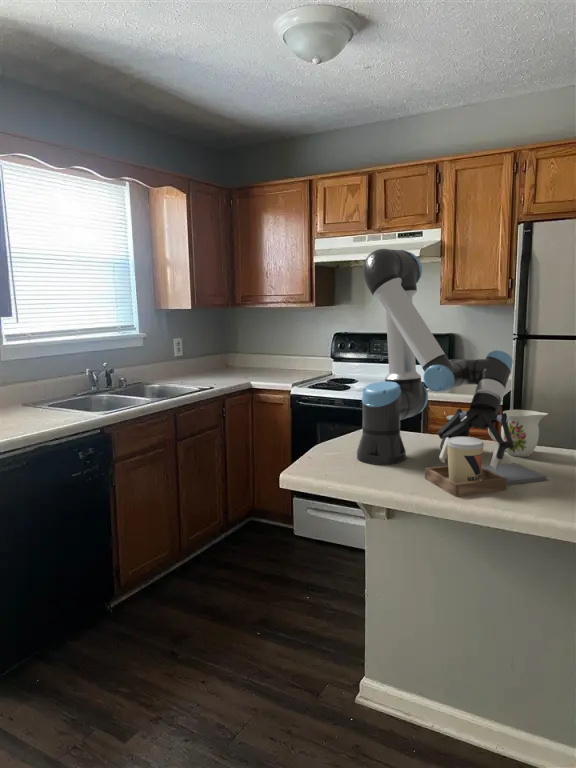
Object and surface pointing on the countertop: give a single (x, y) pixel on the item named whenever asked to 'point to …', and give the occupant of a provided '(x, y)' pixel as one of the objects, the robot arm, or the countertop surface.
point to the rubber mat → (516, 473)
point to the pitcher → (522, 431)
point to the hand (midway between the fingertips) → (466, 464)
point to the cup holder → (487, 483)
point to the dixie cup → (464, 433)
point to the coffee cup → (464, 459)
